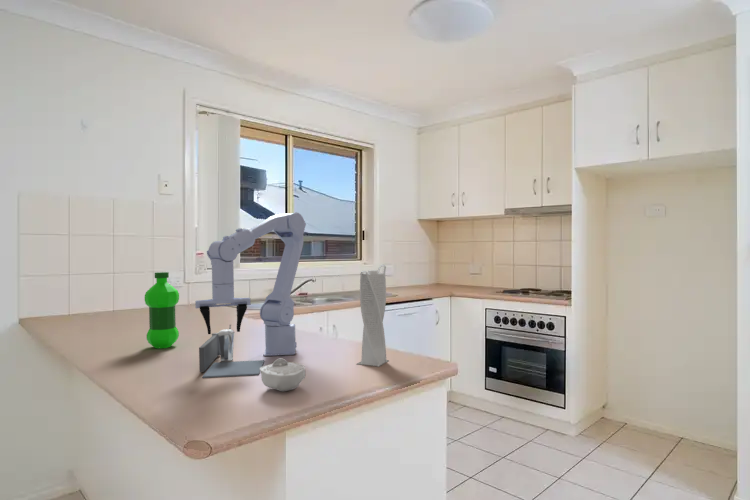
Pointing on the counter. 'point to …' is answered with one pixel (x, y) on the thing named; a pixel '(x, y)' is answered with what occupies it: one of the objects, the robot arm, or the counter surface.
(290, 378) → the cell model
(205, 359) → the grey rectangular panel
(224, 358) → the milkshake
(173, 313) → the plastic bottle
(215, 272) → the robot arm
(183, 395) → the counter surface
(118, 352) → the counter surface
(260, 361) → the mat
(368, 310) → the skyscraper
